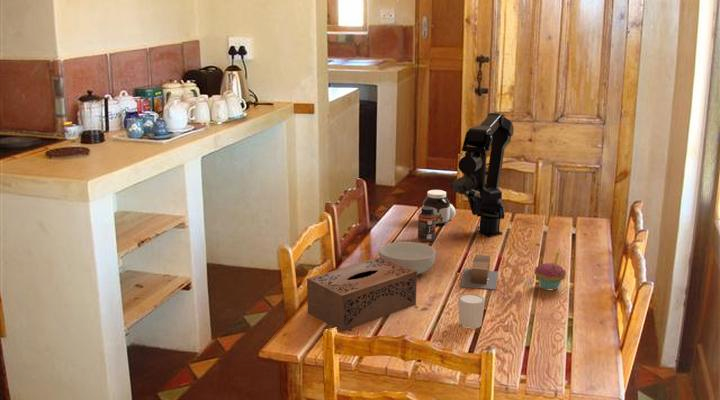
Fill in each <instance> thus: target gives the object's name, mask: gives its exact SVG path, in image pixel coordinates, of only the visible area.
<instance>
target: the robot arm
mask: <svg viewBox="0 0 720 400" xmlns="http://www.w3.org/2000/svg"><path fill="white" fill-rule="evenodd" d="M514 131H515V128H514V125H513V122H512V121H511V120H510V119H508V118H506V117H505V114H504V113H503V114H502V113H498V112H489V113H488V114H487V117H486V118H485V119H484V120H482V122H481V123H480V125H475V126H472V127H470V128H468V130H467V131H466V133H465V137H464V139H463V144H462V148H461V152H465V153H464V156H463V157H461V158H460V160H459V161H458V169H459V171H460V172H461V173H462V174H463V176H461V177H459V178H456V179H453V180H451V184H450V188H451V189H453V192H454V193H456V194H457V193H458V194H459V195H463V196H464V197H465V198H467V200H468V204H469V206H470V211H471V213H472V215H473V216H476V217H480V220H479V230H476V233H478V234H481V235H484V236H485V237H487V238H488V237H489V238H490V237H494V236H499V235H502V234H503V232H501V231H500V227H501V225H500V224H501V220H503V219H505V216H506V215H505V214H506V213H505V212H506V211H505V210H506V209H505V207H504V203H503V197H502V196H503V195H502V194H503V192H502V191H501V189H500V183H501V177H502V169H503V161H504V156H505V155H504V154H505V149H506V147H507V146H508V145H509V144H510V142H511V140H512V137H513V135H514ZM488 151H490V152H489V153H490V154H489V158H488V157H487V156H488V154H487V153H488ZM487 158H488V166H487ZM487 167H488V168H487Z"/></svg>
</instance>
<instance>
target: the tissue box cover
mask: <svg viewBox="0 0 720 400" xmlns="http://www.w3.org/2000/svg"><path fill="white" fill-rule="evenodd" d="M417 278H418V275H417V271H415V270H412V269H410V268H407V267H405V266H402V265H400V264H397V263H395V262H392V261H390V260H388V259H385V258H383V257H375V258H373V259H370V260H369V259H368V260H366V261H362V262H358V263H356V264H352V265H348V266H345V267H341V268H339V269H338V268H337V269H336V270H332V271H328V272H324V273H321V274H318V275H314V276H312V277H308V278H306V287H307V288H306V295H307V296H306V297H307V298H306V299H307V305H306V306H307V314H308V315H310V316H312V317H314V318H315V319H318V320H319V321H322V322H323V323H325V324H327V325H328V326H330V327H331V328H334V327H337V329H338V330H337V329H336V330H337V331H339V332H341V333H343V332H346V331H348V330H351V329H353V328H357V327H359V326H363V325H364V324H368V323H371V322H373V321H376V320H379V319H382V318H384V317H386V316H390V315H392V314H395V313H398V312H401V311H403V310H406V309H409V308H411V306H412V307H414V306H417V285H418V284H417V282H418V281H417ZM413 305H414V306H413ZM408 307H409V308H408Z"/></svg>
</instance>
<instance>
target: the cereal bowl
mask: <svg viewBox="0 0 720 400" xmlns="http://www.w3.org/2000/svg"><path fill="white" fill-rule="evenodd" d="M436 253H437V252H436V250H435V248H433V247H432V246H430V245H428V244H426V243H421V242H417V241H416V242H414V241H395V242H390V243H386V244H384V245H382V246H381V247H379V249H378V256H379V257H383V258H385V259H388V260H390V261H392V262H395V263H397V264H400V265H402V266H405V267H407V268H410V269H412V270H415V271H417V276H418V275H419V274H421V273H425V272H426V271H429V270H430V269H431V268H432V267H433V266H434V264H435V261H436ZM379 257H378V258H379Z"/></svg>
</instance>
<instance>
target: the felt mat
mask: <svg viewBox="0 0 720 400" xmlns="http://www.w3.org/2000/svg"><path fill="white" fill-rule="evenodd" d="M471 270H472V268H464V271H463V275H462V278H461V281H460V288H469V289H478V288H483V289H482V290H489V291H490V290H491V291H497V290H496V289H497V283H498V277H499V276H498V275H499V271H495V270H489V274H488V278H489V280H487V282H488V283H487V284H476V283H471Z"/></svg>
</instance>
